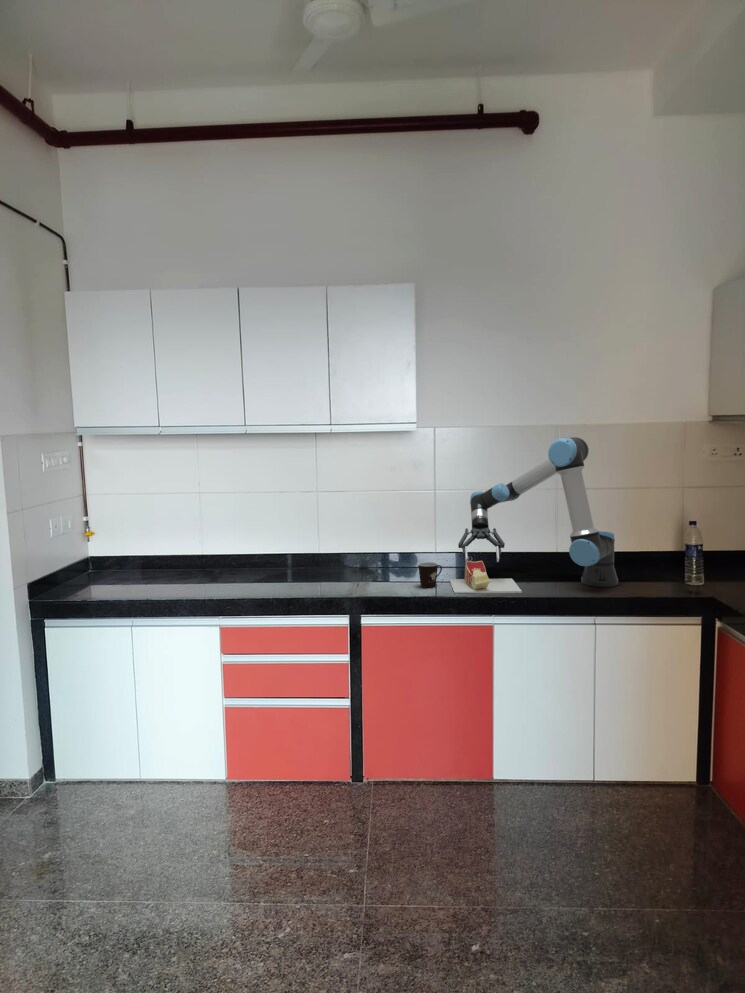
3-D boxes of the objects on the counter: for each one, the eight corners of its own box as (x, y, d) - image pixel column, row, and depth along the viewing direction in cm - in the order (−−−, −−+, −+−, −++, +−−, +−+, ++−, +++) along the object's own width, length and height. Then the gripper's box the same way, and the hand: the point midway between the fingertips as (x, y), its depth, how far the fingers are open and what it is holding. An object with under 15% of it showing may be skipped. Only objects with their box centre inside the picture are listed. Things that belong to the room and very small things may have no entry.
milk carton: (464, 580, 287) (470, 595, 267) (464, 560, 285) (470, 574, 266) (485, 580, 287) (492, 595, 267) (485, 560, 285) (492, 573, 265)
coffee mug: (421, 589, 276) (421, 566, 275) (416, 585, 284) (415, 563, 283) (447, 587, 278) (447, 565, 277) (441, 583, 287) (441, 561, 286)
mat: (512, 580, 290) (512, 578, 289) (521, 592, 267) (521, 591, 267) (449, 581, 291) (449, 579, 291) (454, 593, 268) (454, 591, 268)
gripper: (506, 526, 295) (510, 564, 282) (452, 526, 298) (453, 564, 284) (508, 516, 289) (512, 555, 276) (452, 516, 292) (453, 555, 279)
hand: (482, 560), depth 280 cm, fingers open, 13 cm apart
